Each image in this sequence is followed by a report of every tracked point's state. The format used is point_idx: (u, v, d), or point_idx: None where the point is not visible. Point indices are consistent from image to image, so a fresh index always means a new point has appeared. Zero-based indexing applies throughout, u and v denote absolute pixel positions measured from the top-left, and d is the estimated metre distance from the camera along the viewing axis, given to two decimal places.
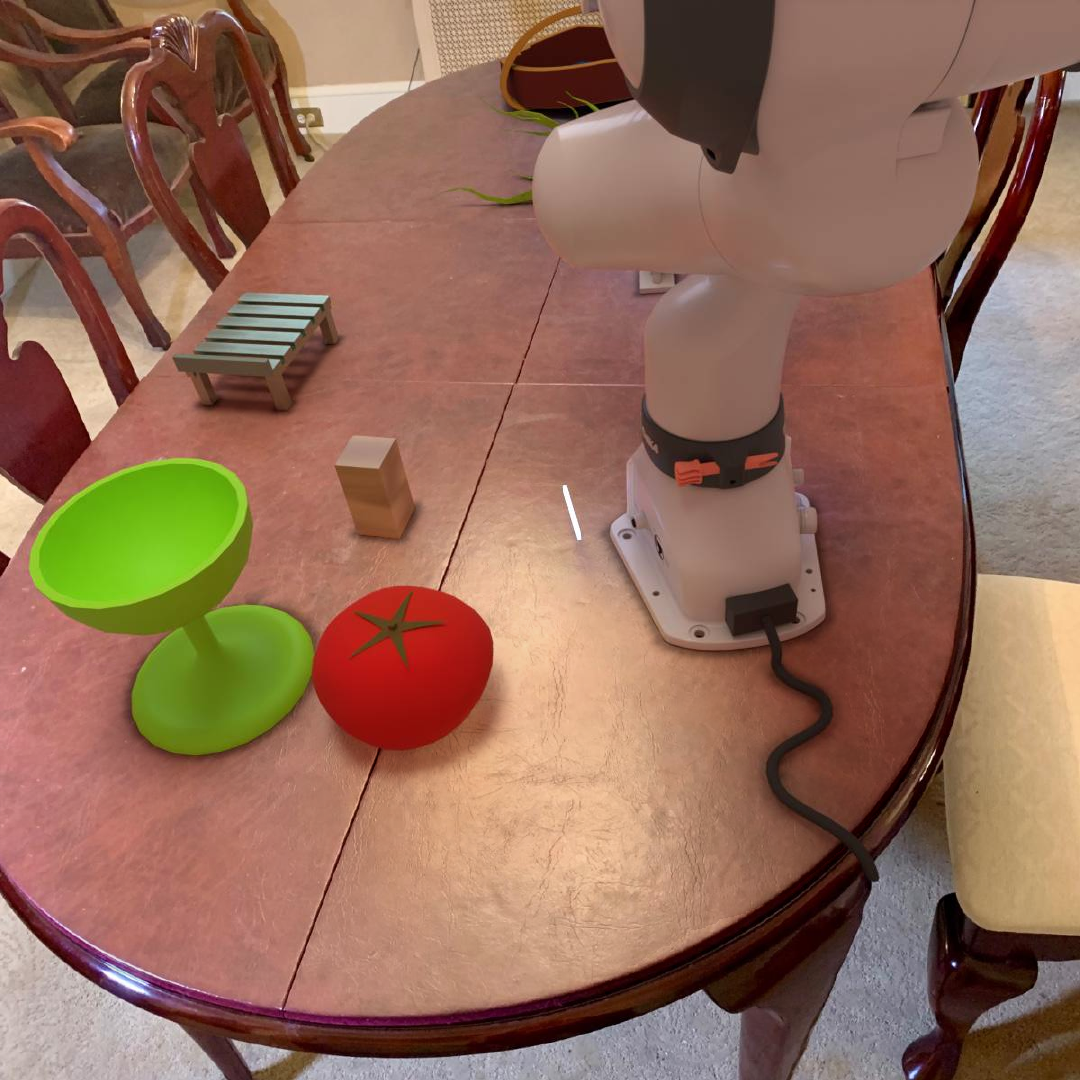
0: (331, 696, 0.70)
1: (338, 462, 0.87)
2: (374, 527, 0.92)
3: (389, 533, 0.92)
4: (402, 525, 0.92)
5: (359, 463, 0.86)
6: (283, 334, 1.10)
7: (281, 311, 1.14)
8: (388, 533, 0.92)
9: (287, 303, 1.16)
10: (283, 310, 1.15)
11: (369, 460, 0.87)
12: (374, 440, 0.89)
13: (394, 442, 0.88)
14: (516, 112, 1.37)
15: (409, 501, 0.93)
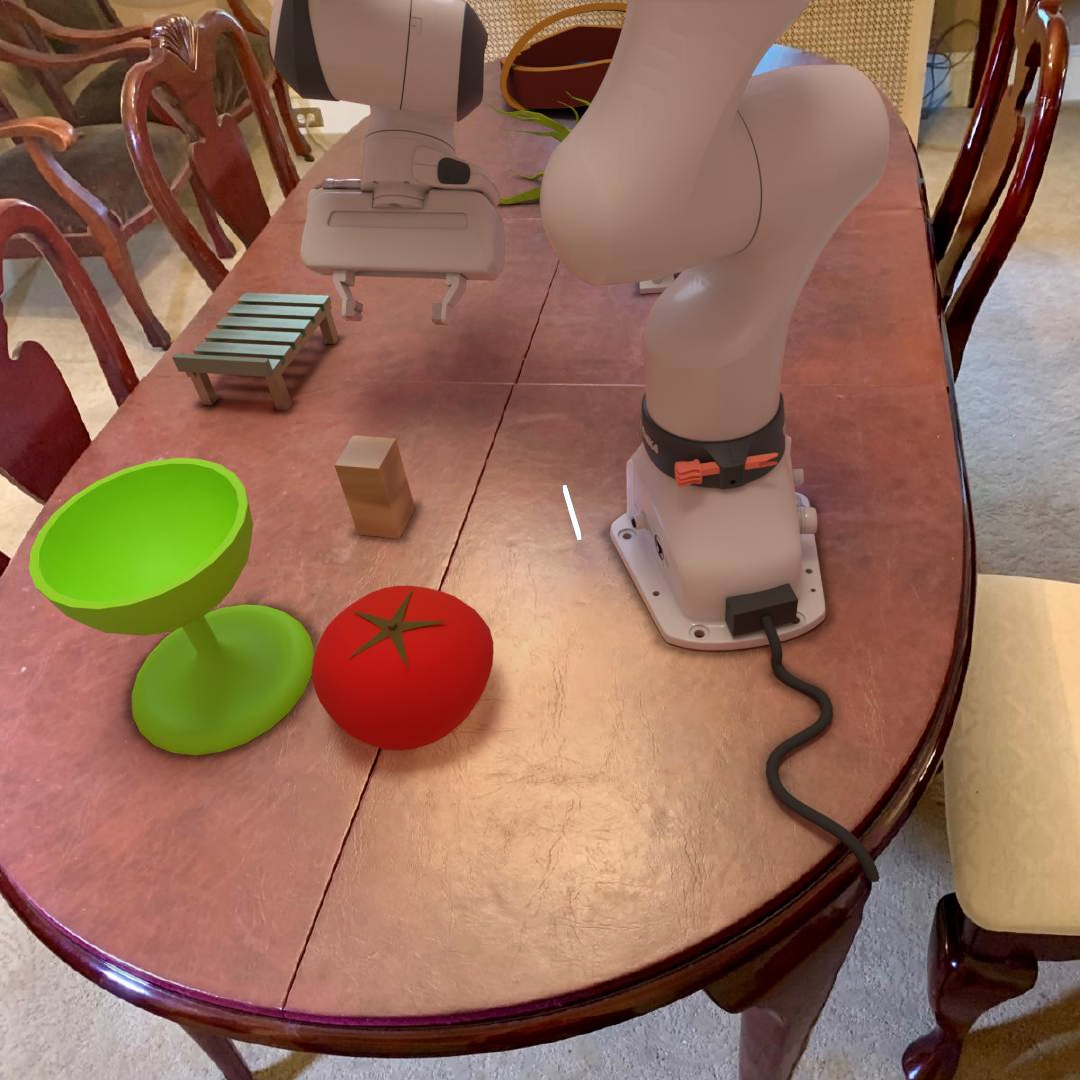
0: (331, 696, 0.70)
1: (338, 462, 0.87)
2: (374, 527, 0.92)
3: (389, 533, 0.92)
4: (402, 525, 0.92)
5: (359, 463, 0.86)
6: (283, 334, 1.10)
7: (281, 311, 1.14)
8: (388, 533, 0.92)
9: (287, 303, 1.16)
10: (283, 310, 1.15)
11: (369, 460, 0.87)
12: (374, 440, 0.89)
13: (394, 442, 0.88)
14: (516, 112, 1.37)
15: (409, 501, 0.93)
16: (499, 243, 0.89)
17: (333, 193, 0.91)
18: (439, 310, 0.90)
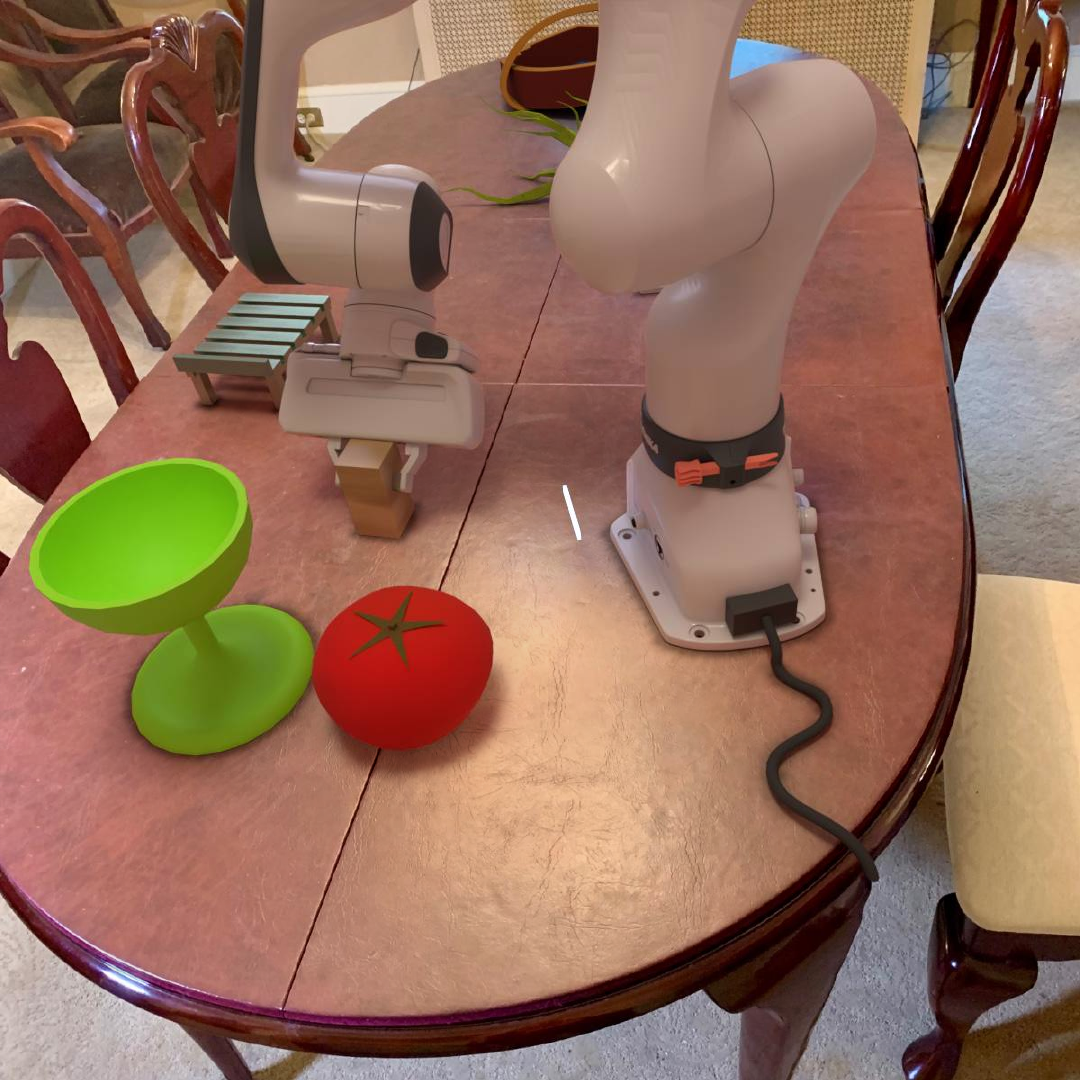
0: (331, 696, 0.70)
1: (338, 462, 0.87)
2: (374, 528, 0.92)
3: (389, 533, 0.92)
4: (402, 525, 0.92)
5: (359, 463, 0.86)
6: (283, 334, 1.10)
7: (281, 311, 1.14)
8: (388, 533, 0.92)
9: (287, 303, 1.16)
10: (283, 310, 1.15)
11: (369, 461, 0.87)
12: (374, 440, 0.89)
13: (394, 442, 0.88)
14: (516, 112, 1.37)
15: (409, 501, 0.93)
16: (478, 415, 0.87)
17: (312, 360, 0.90)
18: (398, 480, 0.89)
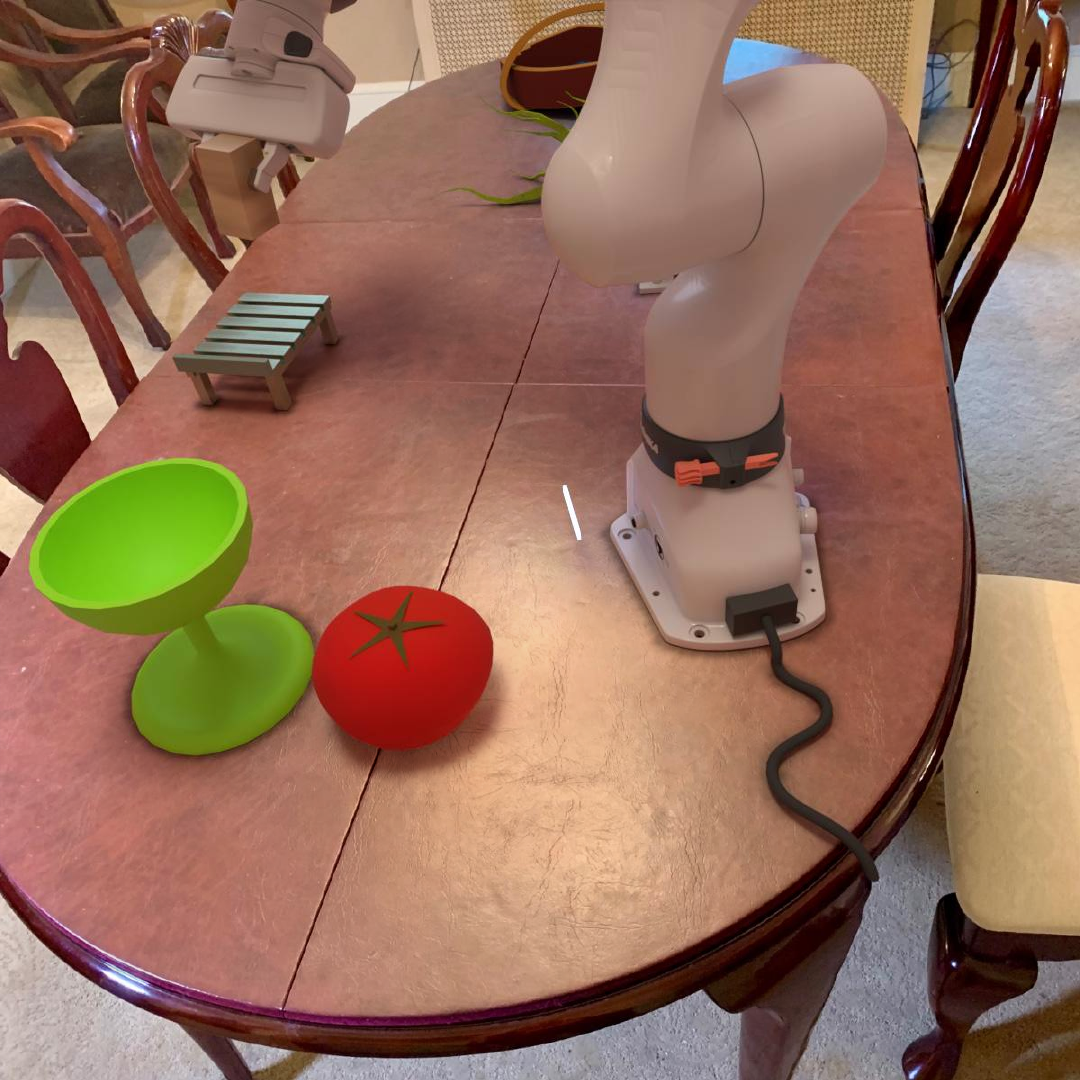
0: (331, 696, 0.70)
1: (198, 145, 0.93)
2: (232, 226, 0.97)
3: (244, 233, 0.97)
4: (258, 229, 0.97)
5: (215, 148, 0.92)
6: (283, 334, 1.10)
7: (281, 311, 1.14)
8: (243, 233, 0.97)
9: (287, 303, 1.16)
10: (283, 310, 1.15)
11: (225, 147, 0.92)
12: (239, 136, 0.94)
13: (256, 139, 0.93)
14: (516, 112, 1.37)
15: (271, 210, 0.98)
16: (334, 121, 0.92)
17: (203, 58, 0.96)
18: (254, 175, 0.94)
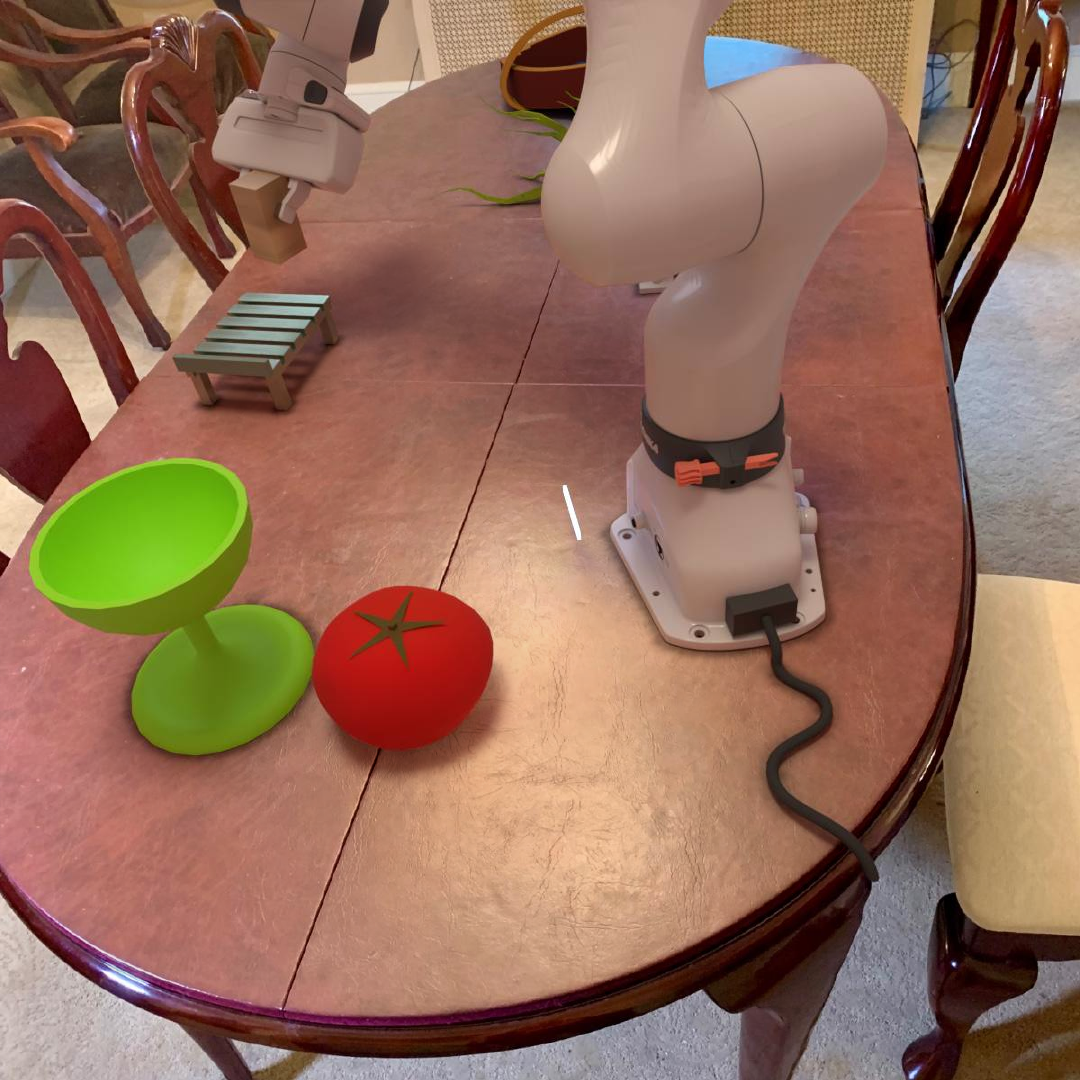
0: (331, 696, 0.70)
1: (232, 182, 1.05)
2: (263, 251, 1.09)
3: (273, 258, 1.09)
4: (285, 254, 1.09)
5: (245, 185, 1.04)
6: (283, 334, 1.10)
7: (281, 311, 1.14)
8: (272, 258, 1.09)
9: (287, 303, 1.16)
10: (283, 310, 1.15)
11: (254, 184, 1.04)
12: (268, 172, 1.06)
13: (282, 176, 1.05)
14: (516, 112, 1.37)
15: (298, 237, 1.10)
16: (346, 161, 1.02)
17: (243, 101, 1.08)
18: (279, 208, 1.05)
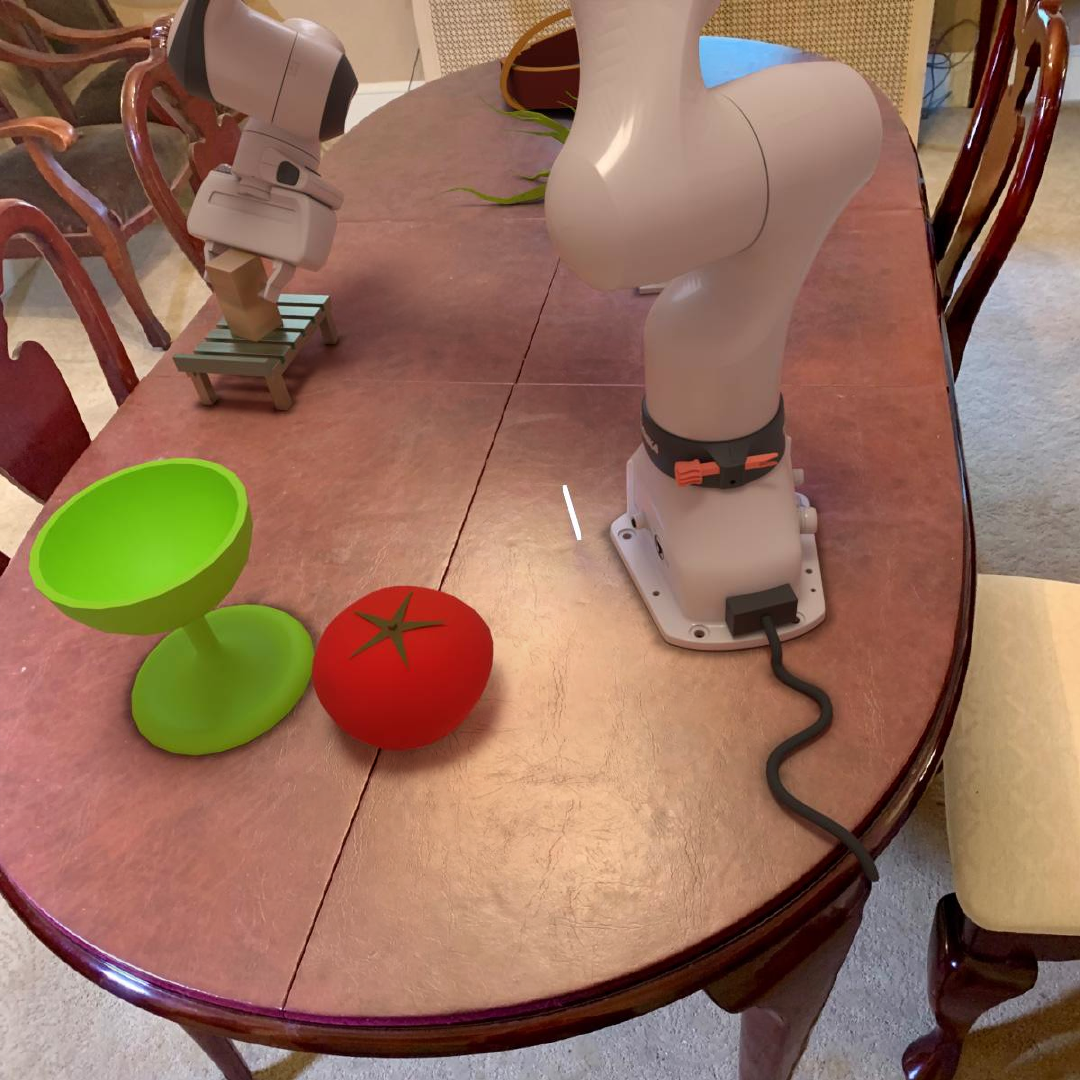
0: (331, 696, 0.70)
1: (207, 263, 1.06)
2: (239, 328, 1.10)
3: (249, 335, 1.10)
4: (261, 331, 1.10)
5: (220, 266, 1.05)
6: (283, 334, 1.10)
7: (281, 311, 1.14)
8: (248, 335, 1.10)
9: (287, 303, 1.16)
10: (283, 310, 1.15)
11: (229, 266, 1.05)
12: (244, 253, 1.07)
13: (257, 257, 1.06)
14: (516, 112, 1.37)
15: (274, 314, 1.11)
16: (318, 241, 1.03)
17: (217, 176, 1.09)
18: (264, 288, 1.05)
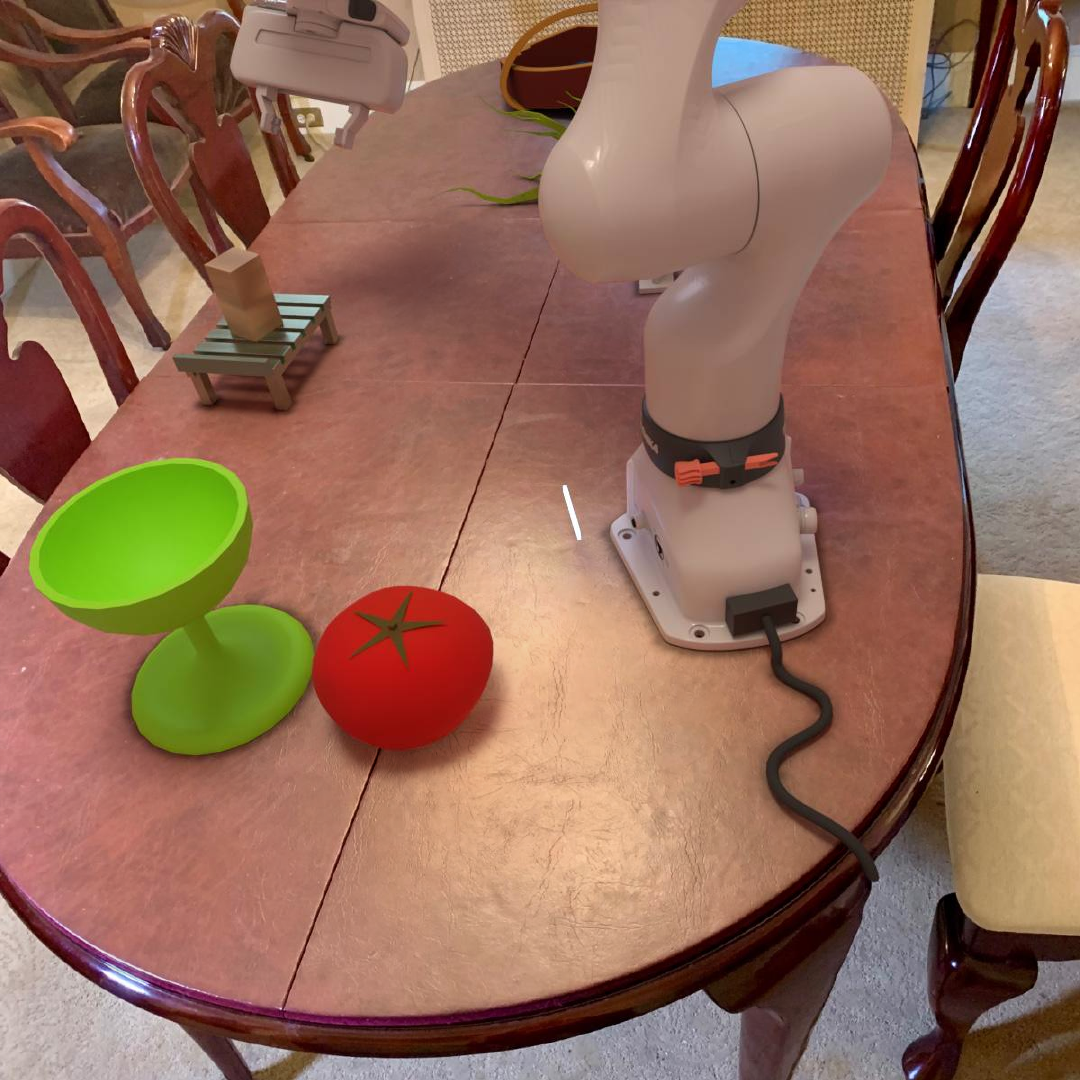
0: (331, 696, 0.70)
1: (207, 263, 1.06)
2: (239, 328, 1.10)
3: (249, 335, 1.10)
4: (261, 331, 1.10)
5: (220, 266, 1.05)
6: (283, 334, 1.10)
7: (281, 311, 1.14)
8: (248, 335, 1.10)
9: (287, 303, 1.16)
10: (283, 310, 1.15)
11: (229, 266, 1.05)
12: (244, 253, 1.07)
13: (257, 257, 1.06)
14: (516, 112, 1.37)
15: (274, 314, 1.11)
16: (398, 80, 1.01)
17: (263, 12, 1.03)
18: (340, 134, 1.03)
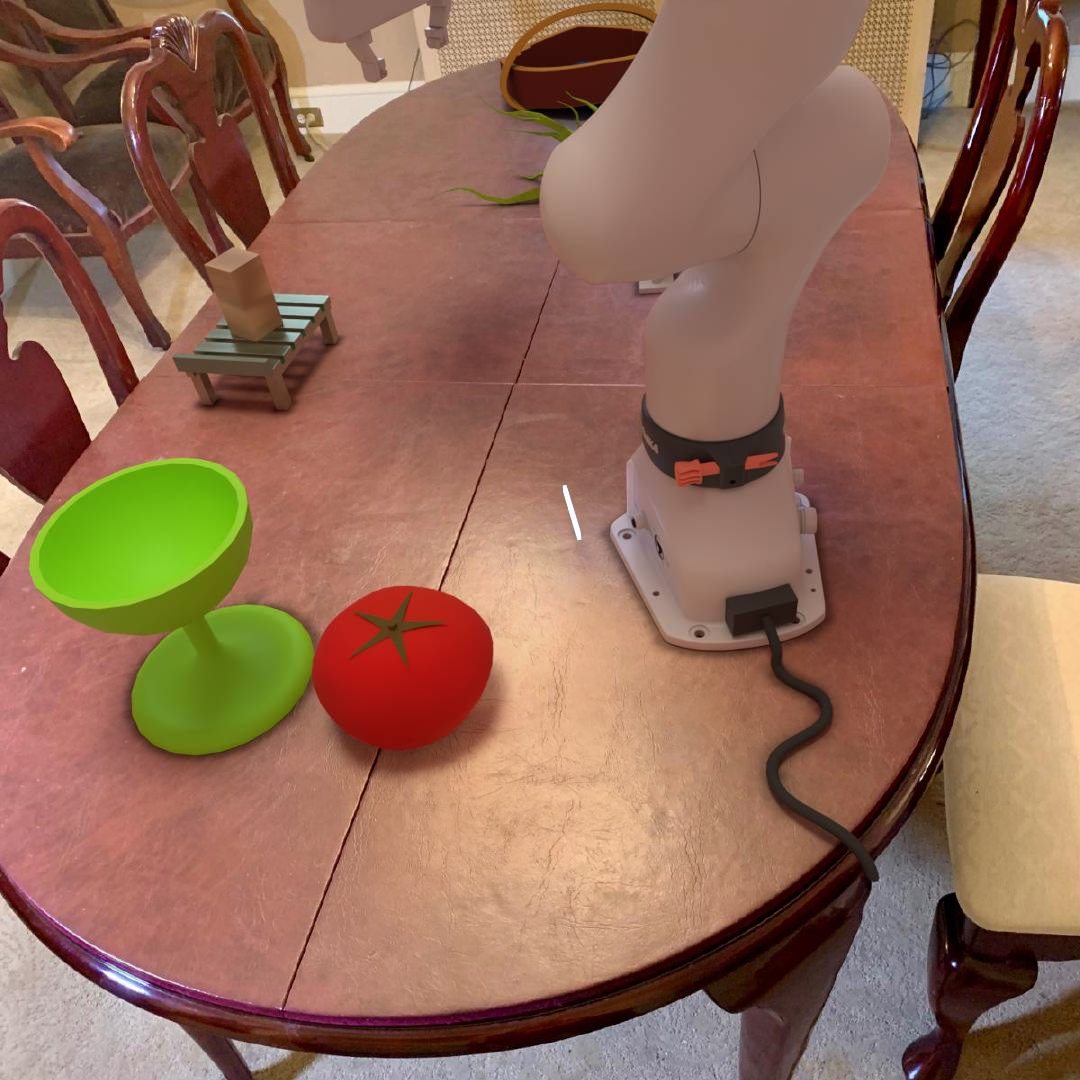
0: (331, 696, 0.70)
1: (207, 263, 1.06)
2: (239, 328, 1.10)
3: (249, 335, 1.10)
4: (261, 331, 1.10)
5: (220, 266, 1.05)
6: (283, 334, 1.10)
7: (281, 311, 1.14)
8: (248, 335, 1.10)
9: (287, 303, 1.16)
10: (283, 310, 1.15)
11: (229, 266, 1.05)
12: (244, 253, 1.07)
13: (257, 257, 1.06)
14: (516, 112, 1.37)
15: (274, 314, 1.11)
16: None
17: None
18: (443, 35, 0.93)
